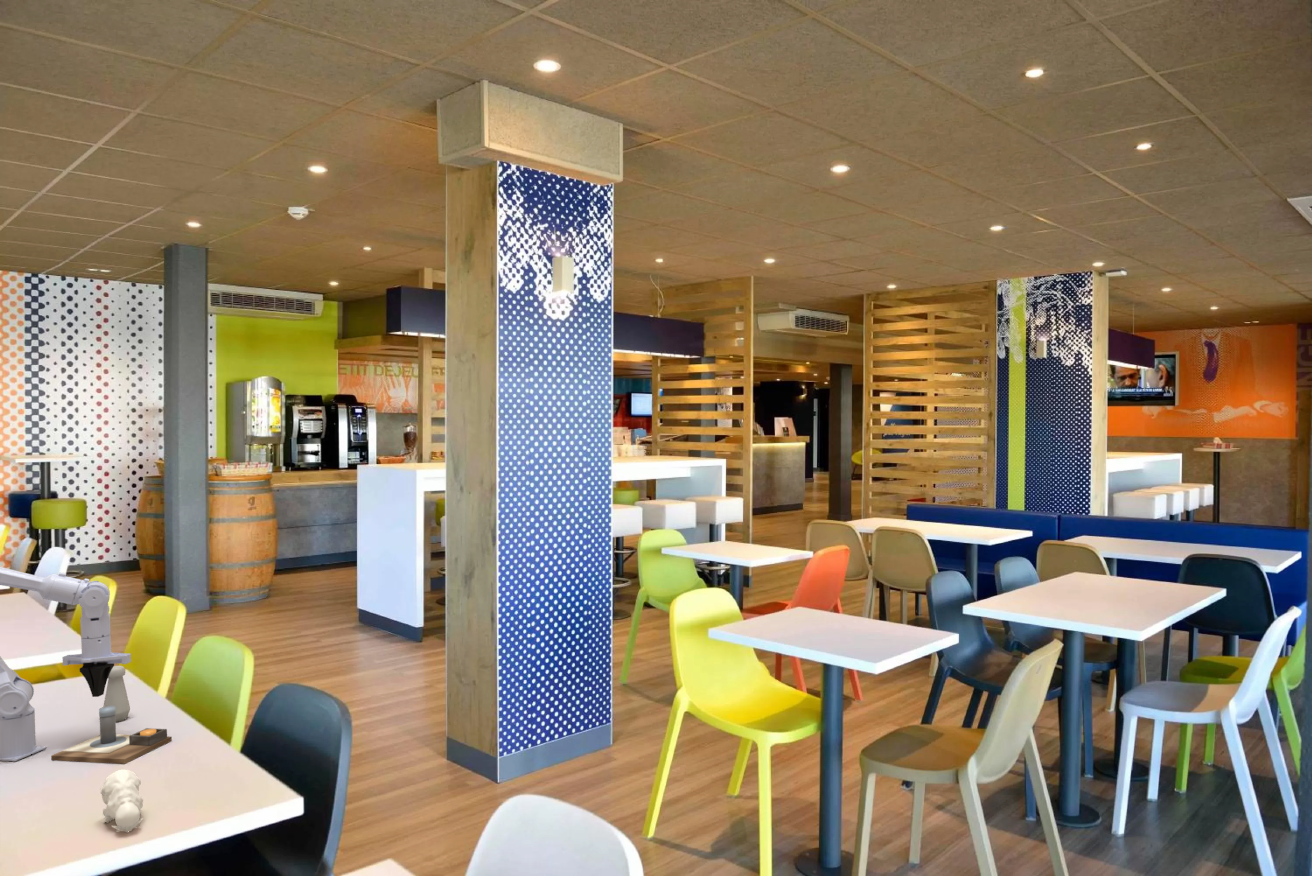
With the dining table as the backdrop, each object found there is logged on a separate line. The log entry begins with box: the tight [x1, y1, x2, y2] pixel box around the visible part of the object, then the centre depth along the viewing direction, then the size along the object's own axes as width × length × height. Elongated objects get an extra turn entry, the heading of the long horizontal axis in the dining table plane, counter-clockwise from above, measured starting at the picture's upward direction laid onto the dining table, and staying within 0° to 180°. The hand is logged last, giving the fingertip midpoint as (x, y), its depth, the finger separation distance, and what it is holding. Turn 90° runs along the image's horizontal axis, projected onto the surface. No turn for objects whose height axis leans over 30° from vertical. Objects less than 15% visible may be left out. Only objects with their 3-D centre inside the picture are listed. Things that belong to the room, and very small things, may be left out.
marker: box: [98, 706, 117, 744], centre depth 202 cm, size 3×3×8 cm
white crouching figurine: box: [100, 769, 144, 833], centre depth 161 cm, size 6×8×12 cm
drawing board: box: [50, 727, 173, 765], centre depth 200 cm, size 18×14×3 cm
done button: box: [140, 728, 157, 736], centre depth 202 cm, size 3×3×2 cm
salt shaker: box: [103, 665, 131, 723], centre depth 221 cm, size 6×6×13 cm
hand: (98, 695), depth 206 cm, fingers closed
